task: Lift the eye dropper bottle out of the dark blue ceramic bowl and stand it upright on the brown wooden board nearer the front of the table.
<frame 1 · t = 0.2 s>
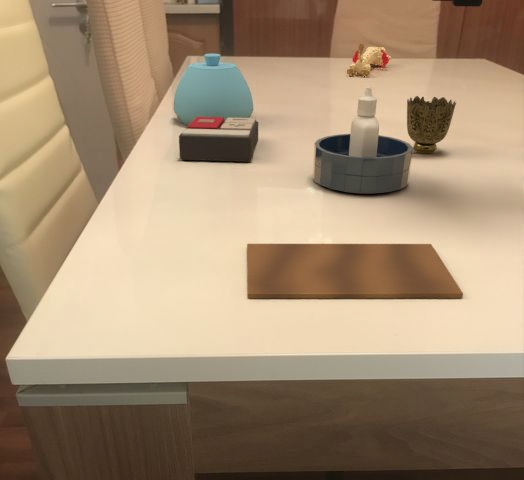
hand: (454, 3, 75), 22 cm above the table, tool pointing down, fingers open, 9 cm apart
cup: (424, 153, 104), on the table
brown wooden board: (346, 271, 65), on the table
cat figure: (367, 71, 178), on the table
dark flat box: (221, 150, 104), on the table
eye dropper bottle: (360, 179, 90), resting on bowl
sugar bowl: (214, 121, 122), on the table
bowl: (359, 181, 90), on the table
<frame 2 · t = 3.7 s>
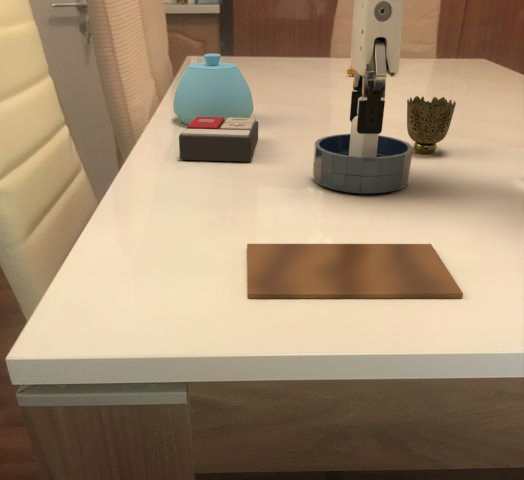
hand: (365, 126, 86), 8 cm above the table, tool pointing down, fingers closed on eye dropper bottle, 5 cm apart
eye dropper bottle: (360, 179, 90), resting on bowl, touching gripper
everything else where it was.
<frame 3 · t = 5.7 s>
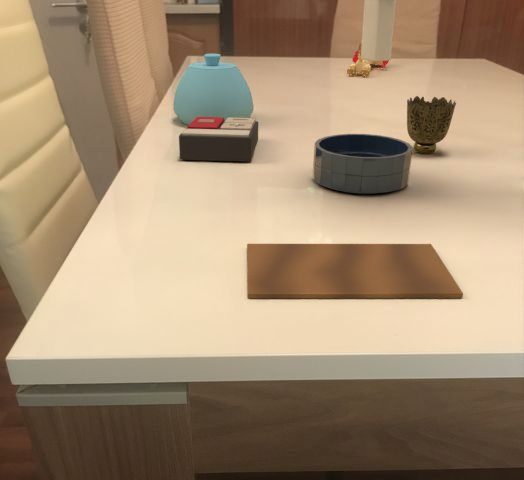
eye dropper bottle: (375, 60, 82), point 16 cm above the table, touching gripper
everything else where it was.
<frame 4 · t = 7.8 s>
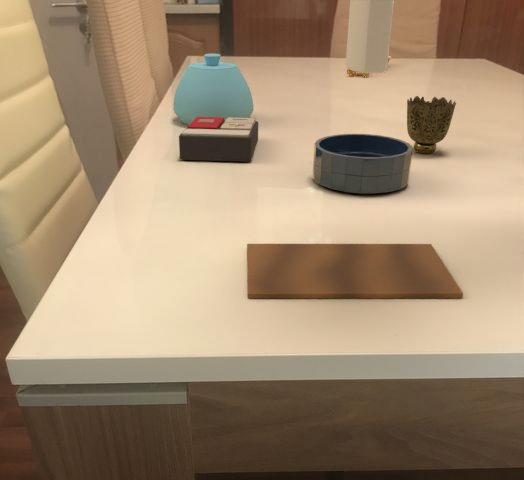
eye dropper bottle: (365, 71, 58), point 18 cm above the table, touching gripper
everything else where it was.
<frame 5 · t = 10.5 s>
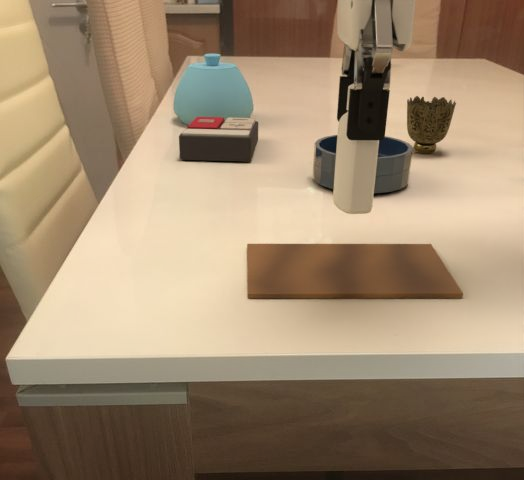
hand: (359, 128, 57), 14 cm above the table, tool pointing down, fingers closed on eye dropper bottle, 5 cm apart
eye dropper bottle: (351, 207, 61), point 7 cm above the table, touching gripper
everything else where it was.
when the fingers open (8 cm above the table, at t = 12.4 s): eye dropper bottle stays where it is, resting on brown wooden board.
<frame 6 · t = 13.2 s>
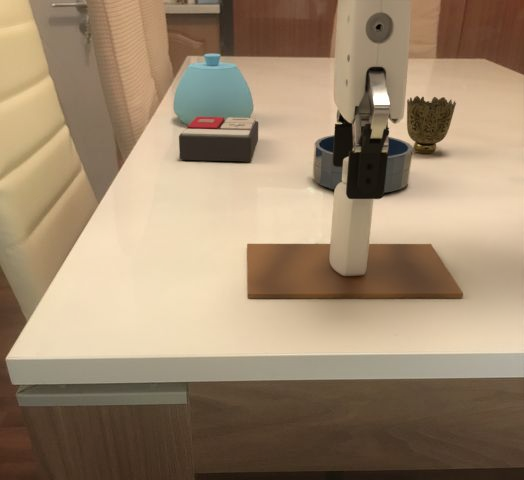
hand: (355, 180, 60), 9 cm above the table, tool pointing down, fingers open, 9 cm apart
eye dropper bottle: (347, 268, 64), resting on brown wooden board
everything else where it was.
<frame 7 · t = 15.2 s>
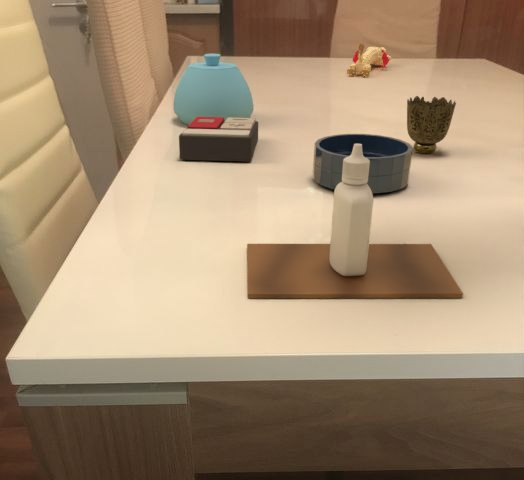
nothing on the table moved.
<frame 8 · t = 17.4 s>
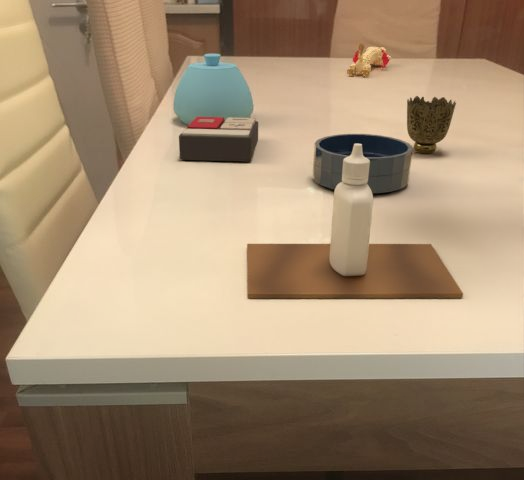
nothing on the table moved.
at the end: eye dropper bottle inside the target area on the brown wooden board (0.0 cm from its centre), point 0.3 cm above the brown wooden board's base; eye dropper bottle tilted 0°; eye dropper bottle touching brown wooden board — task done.
